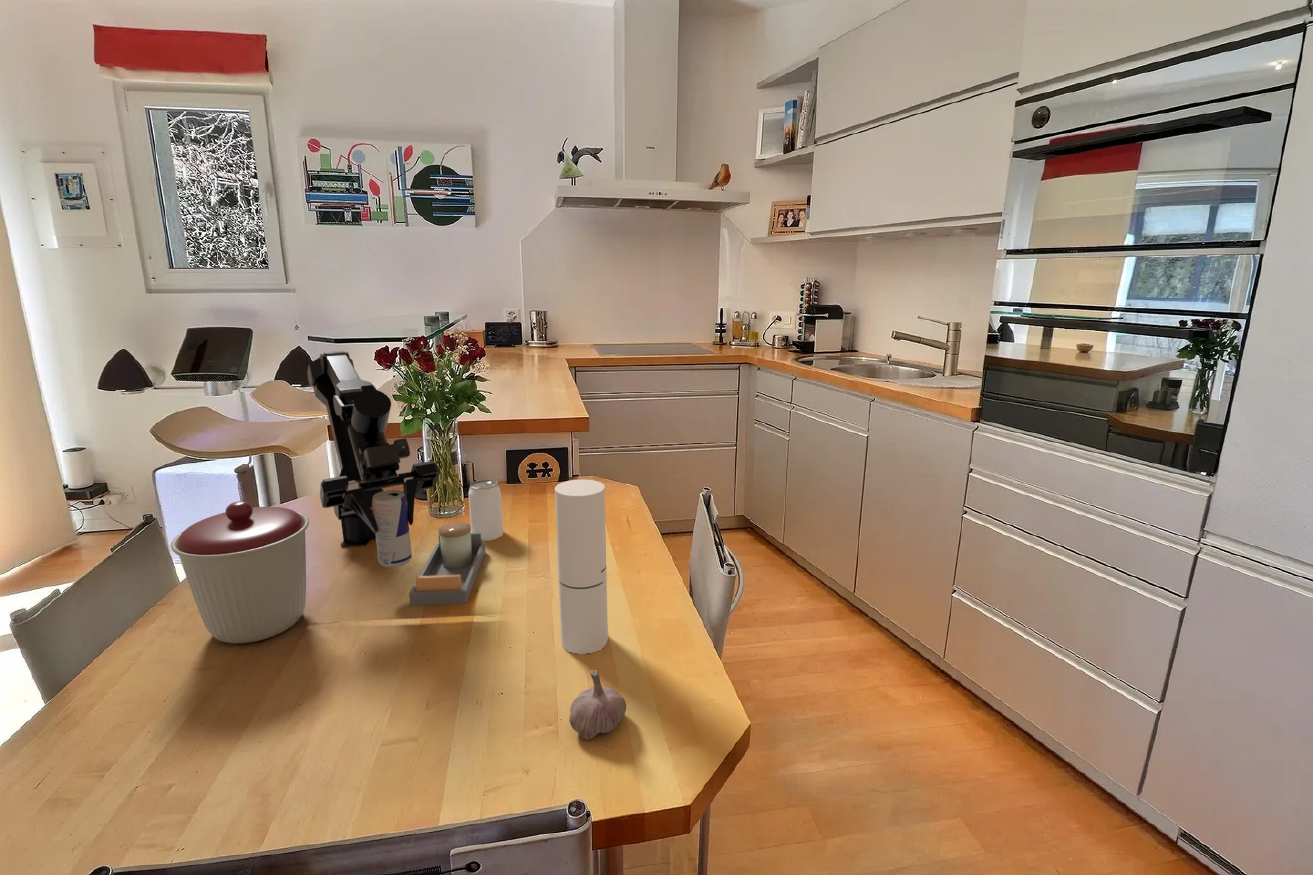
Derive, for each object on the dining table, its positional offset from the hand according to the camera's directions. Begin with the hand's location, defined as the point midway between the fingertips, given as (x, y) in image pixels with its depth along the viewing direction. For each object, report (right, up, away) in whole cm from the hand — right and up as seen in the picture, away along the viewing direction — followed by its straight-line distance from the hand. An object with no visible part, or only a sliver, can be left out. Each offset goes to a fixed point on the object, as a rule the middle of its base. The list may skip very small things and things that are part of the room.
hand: (394, 527), depth 110 cm
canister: (-20, -15, -4) cm, 25 cm away
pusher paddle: (+7, -12, +2) cm, 14 cm away
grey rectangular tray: (+6, -11, +10) cm, 16 cm away
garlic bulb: (+37, -21, -27) cm, 50 cm away
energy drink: (-1, -6, +3) cm, 7 cm away
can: (+8, -6, +29) cm, 31 cm away
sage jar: (+6, -9, +16) cm, 19 cm away
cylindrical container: (+33, -16, -9) cm, 38 cm away
